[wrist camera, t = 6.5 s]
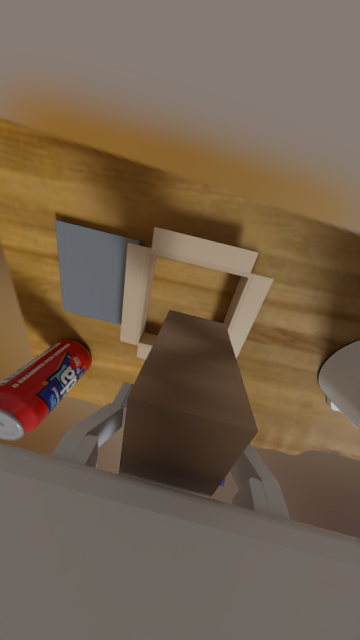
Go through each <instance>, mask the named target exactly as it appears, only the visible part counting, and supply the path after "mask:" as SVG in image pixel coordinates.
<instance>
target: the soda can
mask: <svg viewBox="0 0 360 640" xmlns="http://www.w3.org/2000/svg"><path fill="white" fill-rule="evenodd" d="M91 363H92V359H91V355H90V353H89V351H88V350H87V349H86V348H85V347H84V346H83V345H82V344H80V343H78V342H76V341H73V340H61V341H59V342H57V343H56V344H54V345H53V346H51V347H50V348H48V349H47V350H46V351H44V352H43V353H41V354H40V355H38V356H37V357H36V358H34V359H33V360H31V361H30V362H29V363H27V364H26V365H24V366H23V367H21V368H20V369H18V370H17V371H16V372H15V373H13V374H12V375H10V376H9V377H7V378H6V379H4V380H3V381H1V382H0V439H4V440H17V439H20V438H21V437H22V436H23V434H25V433H27V432H29V431H32V430H34V429H35V428H36V427H38V426H39V424H40V423H41V422H42V421H43V420H44V419H45V418H46V416H47V415H48V414H49V413H50V412H51V411H52V410H53V409H54V407H55V406H56V405H57V404H58V403H59V402H60V400H61V399H62V398H63V397H64V396H65V395H66V394H67V393H68V391H69V390H70V389H71V388H72V387H73V386H74V385H75V383H76V382H77V381H78V380H79V379H80V378H81V377H82V375H83V374H84V373H85V372H86V371H87V370H88V369H89V367H90V366H91Z"/></svg>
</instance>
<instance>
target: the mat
mask: <svg viewBox="0 0 360 640" xmlns="http://www.w3.org/2000/svg"><path fill="white" fill-rule="evenodd" d="M55 223H56V234H57V245H58V255H59V266H60V277H61V288H62V299H63V309H64V311H67V312H71V313H75V314H79V315H84V316H88V317H92V318H96V319H100V320H104V321H108V322H112V323H116V324H120V325H121V324H122V311H123V298H124V285H125V272H126V259H127V246H128V243H131V244H135V245H139V246H141V241H139V240H135V239H131V238H127V237H123V236H119V235H115V234H111V233H107V232H103V231H99V230H95V229H91V228H87V227H83V226H79V225H75V224H71V223H67V222H63V221H58V220H55Z"/></svg>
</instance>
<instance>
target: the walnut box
mask: <svg viewBox="0 0 360 640" xmlns="http://www.w3.org/2000/svg"><path fill="white" fill-rule="evenodd" d="M257 432H258V430H257V426H256V423H255V420H254V416H253V413H252V410H251V407H250V403H249V400H248V397H247V393H246V390H245V387H244V383H243V380H242V377H241V373H240V370H239V367H238V364H237V360H236V357H235V354H234V350H233V347H232V344H231V340H230V337H229V334H228V330H227V327H226V324H223V323H219V322H215V321H211V320H207V319H203V318H200V317H196V316H192V315H188V314H184V313H180V312H176V311H172V310H170V311H169V313H168V315H167V317H166V319H165V321H164V323H163V325H162V327H161V329H160V331H159V334H158V336H157V338H156V340H155V342H154V344H153V346H152V348H151V350H150V352H149V354H148V356H147V359H146V361H145V363H144V365H143V367H142V369H141V371H140V373H139V375H138V377H137V379H136V381H135V383H134V386H133V388H132V390H131V392H130V394H129V396H128V400H127V408H126V417H125V426H124V434H123V443H122V452H121V461H120V470H119V474H120V475H124V476H127V477H131V478H135V479H139V480H142V481H146V482H150V483H154V484H157V485H161V486H165V487H169V488H172V489H176V490H180V491H184V492H187V493H191V494H195V495H198V496H202V497H206V498H211V496H212V495H213V493H214V492H215V491H216V489H217V488H218V487H219V485H220V484H221V482H222V481H223V480H224V478H225V477H226V475H227V474H228V472H229V471H230V470H231V468H232V467H233V466H234V464H235V463H236V461H237V460H238V459H239V457H240V456H241V454H242V453H243V452H244V450H245V449H246V447H247V446H248V445H249V443H250V442H251V441H252V439H253V438H254V436H255V435H256V434H257Z"/></svg>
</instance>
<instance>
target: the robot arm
mask: <svg viewBox="0 0 360 640" xmlns="http://www.w3.org/2000/svg"><path fill="white" fill-rule="evenodd" d="M319 385H320V387H321V389H322V390H323V392H324V393H325V394H326V396H327V404H328V405H329V406H330V407H331V408H332V409H333V410H336V411H341V412H342V413H343V414H344V415H345V416H346V417H347V418H348V419H349V420H350V421H351V422H352V423H353V424H354V425H355V427H356V428H357V429H358V430H359V431H360V340H359V341H357V342H354V343H351V344H349V345H347V346H345V347H343V348H342V349H340V350H339V351H337V352H336V353H334V354H333V355H332V356H331V357H330V358H329V359H328V360H327V361H326V362H325V364H324V365H323V367H322V368H321V371H320V373H319ZM133 386H134V384H130V383H127V382H125V383H124V384H123V385H122V387H121V389H120V391H119V392H118V394H117V396H116V398H115V399H114V401H113V403H112V404H111V403H109V404H108V405H106V406H105V407H103V408H101V409H100V410H98V411H97V412H95V413H94V414H92V415H90V416H89V417H87V418H86V419H84V420H83V421H81V422H79V423H78V424H76V425H75V426H73V427H72V428H70V429H69V431H68V432H67V433H66V435H65V436H64V438H63V439H62V440H61V442H60V443H59V445H58V446H57V447H56V449H55V450H54V452H53V453H52V454H51V456H49V455H45V454H41V453H37V452H34V451H30V450H26V449H23V448H19V447H15V446H11V445H7V444H4V443H0V640H360V539H359V538H355V537H352V536H348V535H344V534H341V533H337V532H333V531H329V530H326V529H321V528H318V527H314V526H311V525H307V524H303V523H299V522H296V521H292V520H290V516H289V513H288V510H287V507H286V504H285V501H284V498H283V495H282V492H281V489H280V485H279V483H278V482H277V480H276V479H275V478H274V477H273V475H272V474H271V472H270V471H269V469H268V468H267V467H266V465H265V464H264V462H263V461H262V460H261V458H260V457H259V456H258V454H257V453H256V452H255V450H254V449H253V447H252V446H251V444H250V443H249V445H248V446H247V447H246V449H245V450H244V452H243V453H242V454H241V456H240V457H239V459H238V460H237V461H236V463H235V464H234V466H233V467H232V468H231V470H230V472H231V474H232V476H233V477H234V480H235V482H236V484H237V486H238V488H239V492H238V493H237V494H236V495H235V496H234V497H233V499H232V504H233V505H232V504H228V503H224V502H221V501H217V500H213V499H210V498H206V497H202V496H198V495H195V494H191V493H187V492H184V491H180V490H176V489H172V488H169V487H165V486H161V485H157V484H154V483H150V482H146V481H142V480H139V479H135V478H131V477H127V476H124V475H120V474H116V473H112V472H108V471H105V470H101V469H97V468H96V467H97V465H98V448H99V447H100V446H101V445H102V444H103V443H104V442H105V441H106V440H107V439H109V438H110V437H111V436H112V435H113V434H114V433H115V432H116V431H117V430H119V429H120V428H121V426H125V417H126V408H127V400H128V396H129V394H130V392H131V390H132V388H133Z"/></svg>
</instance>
